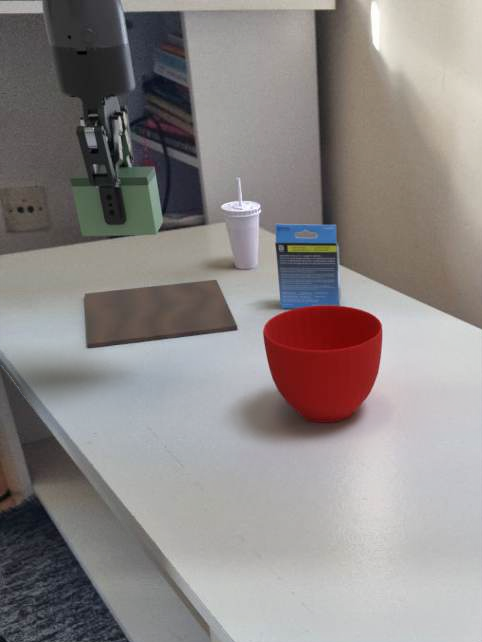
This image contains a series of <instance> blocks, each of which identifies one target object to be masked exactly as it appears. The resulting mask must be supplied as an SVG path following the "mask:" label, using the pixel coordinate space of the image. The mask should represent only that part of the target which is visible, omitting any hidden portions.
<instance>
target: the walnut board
mask: <svg viewBox="0 0 482 642" xmlns="http://www.w3.org/2000/svg"><path fill="white" fill-rule="evenodd" d="M84 302H85V303H84V307H85V321H86V322H85V324H86V325H85V326H86V344H87V348H88V349H91V348H99V347H107V346H115V345H124V344H131V343H132V344H133V343H140V342H147V341H148V342H149V341H156V340H157V341H158V340H163V339H173V338H182V337H190V336H198V335H204V334H213V333H223V332H229V331H237V330H239V329H238V325H237V322H236V320H235V318H234V315H233V313H232V311H231V309H230V307H229V305H228V302H227V299H226V297H225V295H224V293H223V291H222V289H221V286H220V285H219V281H218V280H217V279H210V280H200V281H199V280H197V281H190V282H180V283H171V284H162V285H161V284H160V285H152V286H143V287H142V286H141V287H134V288H126V289H125V288H124V289H115V290H105V291H96V292H95V291H94V292H88V293H84Z"/></svg>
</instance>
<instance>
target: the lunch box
mask: <svg viewBox="0 0 482 642" xmlns="http://www.w3.org/2000/svg"><path fill="white" fill-rule="evenodd" d="M100 171H101V173H107V171H106V167H105V166H103V167H102V166H100ZM119 172H120V179H121V190H122V196H123V201H124V207H125V212H126V218H127V220H126V222H125V224H123V225H108V224H107V223H106V222H105V219H104V214H103V209H102V204H101V199H100V194H99V188H96V187H95V186H91V185H90V183H89V178H88V174H87V170H86V167H80V168H79V169H78V170H77V171H76V172H75V173H74V174H73V175H72V176H71V177H70V178H69V180H70V186H71V190H72V195H73V199H74V204H75V208H76V213H77V218H78V222H79V227H80V233H81V236H82V237H108V236H109V237H111V236H114V237H115V236H156V235H157V234H158V232H159V230H160V228H161V226H162V225H163V223H164V218H163V213H162V206H161V200H160V193H159V187H158V181H157V173H156V167H155V166H132V167H119Z"/></svg>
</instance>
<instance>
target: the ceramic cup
mask: <svg viewBox="0 0 482 642" xmlns="http://www.w3.org/2000/svg"><path fill="white" fill-rule="evenodd" d="M262 337H263V344H264V350H265V355H266V360H267V364H268V369H269V372H270V376H271V379H272V382H273V383H274V386H275V388H276V389H277V391H278V393H279V394H280V396H282V398H283V399H284V401H285V402H286V403H287V404H288V405H289V407H291V408H292V409H293V410H294V411H296V412H297V413H298V414H299V415H300V416H301V417H302V418H304V419H305V420H308V421H311V422H315V423H335V422H340V421H344V420H346V419H348V418H350V417H351V416H353V414H354V413H355V412H356V410H357V409H359V408H360V406H361V405H362V404H363V403H364V402H365V401H366V399H367V398H368V397H369V396H370V393H371V392H372V390H373V388H374V385H375V382H376V380H377V378H378V375H379V371H380V366H381V359H382V349H383V324H382V323H381V321H380V319H379V318H378V317H377V316H376V315H374V314H372V313H370V312H369V311H367V310H363V309H359V308H355V307H351V306H345V305H340V306H333V305H321V306H308V307H302V308H297V309H288V310H286V311H284V312H280V313H279V314H276V315H274V316H272V317H271V318H270V319H269V320H267V322H266V323H265V324H264V325H263V329H262Z"/></svg>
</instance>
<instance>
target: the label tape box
mask: <svg viewBox="0 0 482 642" xmlns="http://www.w3.org/2000/svg"><path fill="white" fill-rule="evenodd" d="M274 231H275V232H274V233H275V243H274V244H275V246H274V247H275V254H276V265H277V266H276V267H277V278H278V279H277V280H278V291H279V303H280V308H281V309H284V310H285V309H287V310H293V309H297V308H302V307H308V306H321V305H333V306H341V300H342V299H341V297H342V296H341V295H342V289H341V267H340V266H341V263H340V262H341V261H340V247H339V243H338V242H337V224H310V223H309V224H307V223H306V224H303V223H274ZM304 232H307V233H308V234H314V235H315V237H301V236H300V237H298V236H296V234H303V233H304Z"/></svg>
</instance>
